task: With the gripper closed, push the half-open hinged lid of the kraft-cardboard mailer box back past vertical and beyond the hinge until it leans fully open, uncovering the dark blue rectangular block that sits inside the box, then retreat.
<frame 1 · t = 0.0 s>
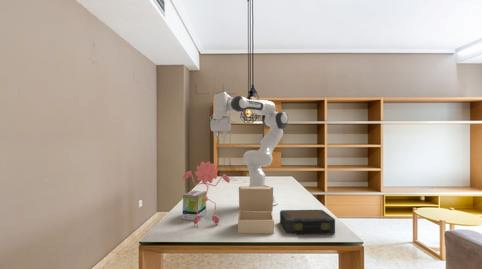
hand: (220, 138, 183), 48 cm above the table, fingers open, 8 cm apart
tea box: (194, 217, 172), on the table
mailer box: (255, 229, 149), on the table
lid: (255, 200, 153), point 14 cm above the table, hinge at 65.0°
figurine: (206, 224, 158), on the table
dark blue rectangular block: (255, 227, 149), point 1 cm above the table, touching mailer box
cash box: (306, 228, 151), on the table
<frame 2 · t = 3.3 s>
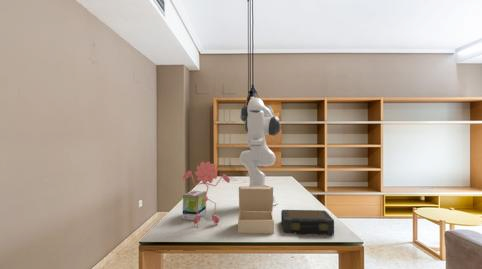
hand: (255, 168, 143), 33 cm above the table, fingers closed
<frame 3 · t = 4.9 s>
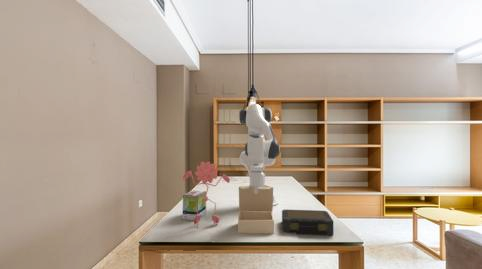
hand: (255, 193, 143), 20 cm above the table, fingers closed
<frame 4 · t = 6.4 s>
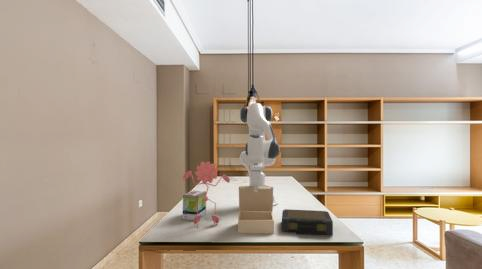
hand: (255, 191, 147), 20 cm above the table, fingers closed
lid: (255, 200, 153), point 14 cm above the table, hinge at 65.6°, touching gripper
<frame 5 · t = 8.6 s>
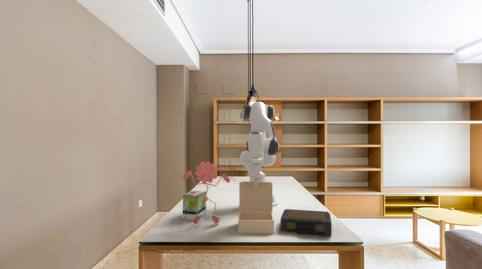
hand: (255, 185, 155), 22 cm above the table, fingers closed
lid: (255, 196, 157), point 15 cm above the table, hinge at 93.4°, touching gripper
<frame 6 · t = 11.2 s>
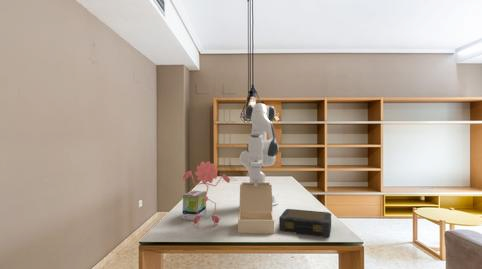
hand: (255, 186, 163), 20 cm above the table, fingers closed
lid: (255, 197, 161), point 14 cm above the table, hinge at 122.3°, touching gripper
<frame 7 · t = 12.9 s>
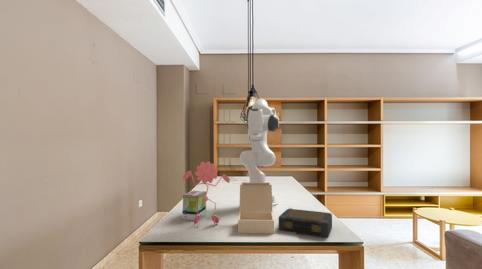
hand: (255, 161, 160), 35 cm above the table, fingers closed
lid: (255, 197, 161), point 14 cm above the table, hinge at 122.3°
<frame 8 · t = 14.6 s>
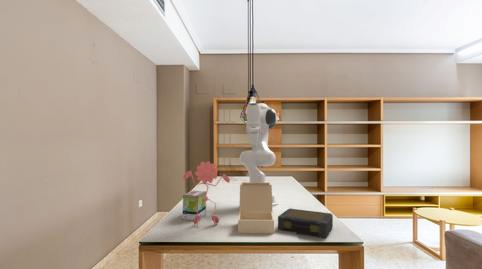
hand: (253, 152, 169), 39 cm above the table, fingers closed
at the end: lid at +122° (first picture: +65°) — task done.
